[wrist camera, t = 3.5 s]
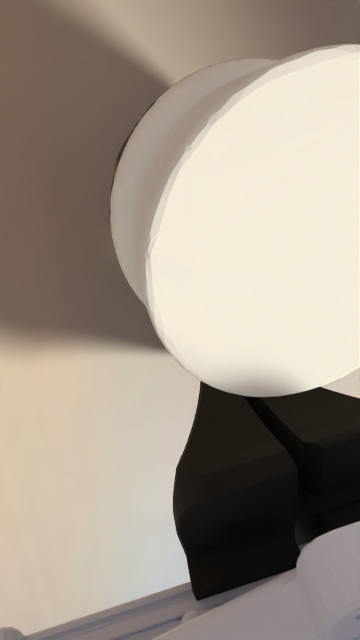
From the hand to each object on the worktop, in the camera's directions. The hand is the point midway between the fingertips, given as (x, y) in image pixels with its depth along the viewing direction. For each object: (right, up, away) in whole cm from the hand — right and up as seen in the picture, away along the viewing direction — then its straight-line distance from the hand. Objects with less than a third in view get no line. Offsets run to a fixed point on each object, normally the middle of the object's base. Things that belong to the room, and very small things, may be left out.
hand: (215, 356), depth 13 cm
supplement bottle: (-2, +6, -2) cm, 7 cm away
